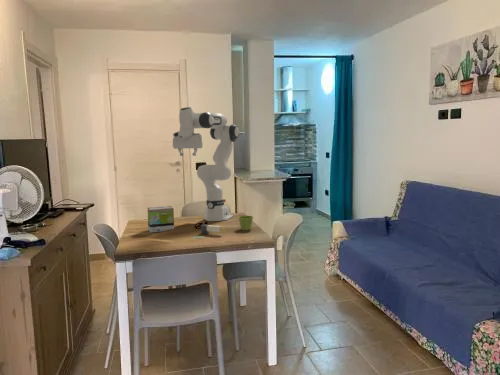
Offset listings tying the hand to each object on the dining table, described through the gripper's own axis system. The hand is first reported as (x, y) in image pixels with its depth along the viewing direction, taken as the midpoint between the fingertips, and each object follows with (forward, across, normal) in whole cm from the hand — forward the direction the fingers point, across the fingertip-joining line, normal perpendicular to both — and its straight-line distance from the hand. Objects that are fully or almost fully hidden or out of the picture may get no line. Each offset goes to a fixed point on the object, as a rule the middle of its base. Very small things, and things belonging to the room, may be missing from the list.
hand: (187, 155), depth 251 cm
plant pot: (+47, -36, -6) cm, 60 cm away
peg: (+46, -23, +13) cm, 53 cm away
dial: (+47, -18, +13) cm, 52 cm away
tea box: (+47, +16, +10) cm, 51 cm away
